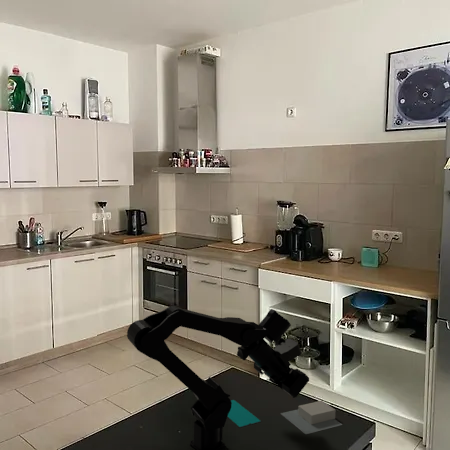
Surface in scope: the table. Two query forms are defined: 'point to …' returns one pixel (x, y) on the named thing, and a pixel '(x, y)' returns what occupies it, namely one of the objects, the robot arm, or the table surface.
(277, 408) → the table surface
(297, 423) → the mat
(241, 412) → the flat teal tile
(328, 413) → the box
